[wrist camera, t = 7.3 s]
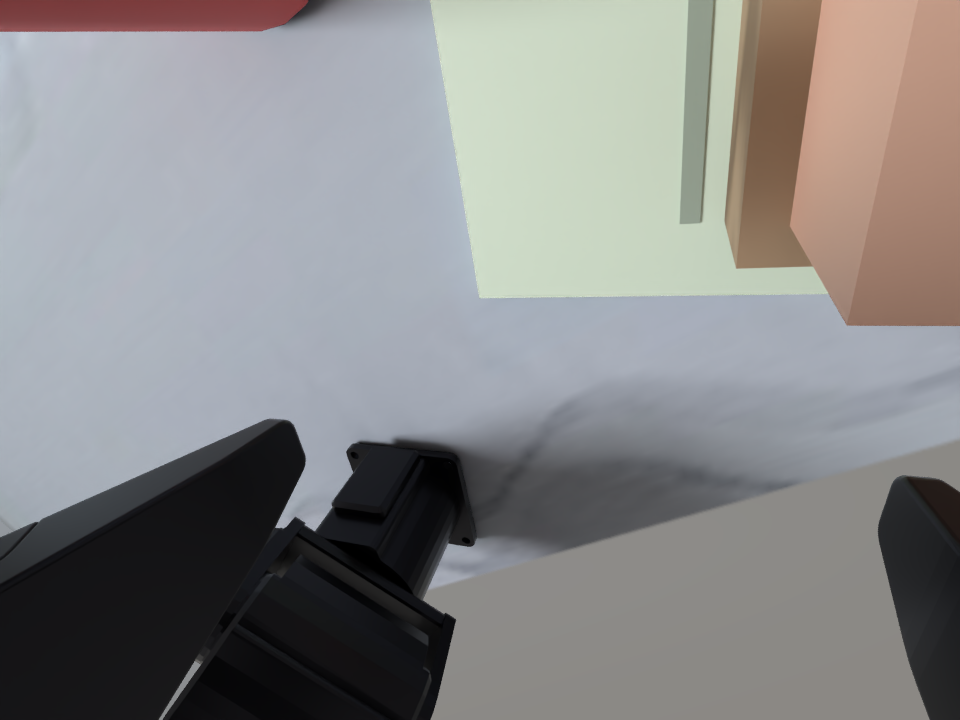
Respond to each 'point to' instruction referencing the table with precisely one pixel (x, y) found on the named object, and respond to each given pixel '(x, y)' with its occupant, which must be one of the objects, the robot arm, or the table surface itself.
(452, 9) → the cream mat
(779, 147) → the base block
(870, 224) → the cube
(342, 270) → the table surface
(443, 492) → the robot arm
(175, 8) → the beer can
